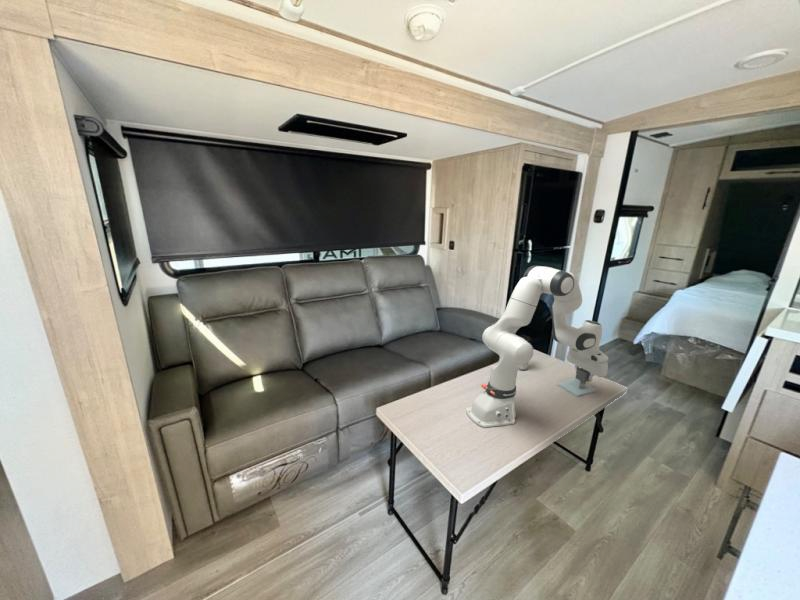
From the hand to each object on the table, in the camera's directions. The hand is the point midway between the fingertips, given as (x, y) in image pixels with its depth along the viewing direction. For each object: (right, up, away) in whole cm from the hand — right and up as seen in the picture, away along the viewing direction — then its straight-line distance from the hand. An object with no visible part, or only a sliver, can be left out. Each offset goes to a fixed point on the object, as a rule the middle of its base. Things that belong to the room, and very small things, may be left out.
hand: (583, 376), depth 160 cm
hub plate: (-2, -7, +3) cm, 8 cm away
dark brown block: (0, -2, 0) cm, 2 cm away
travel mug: (-22, -1, +25) cm, 33 cm away
